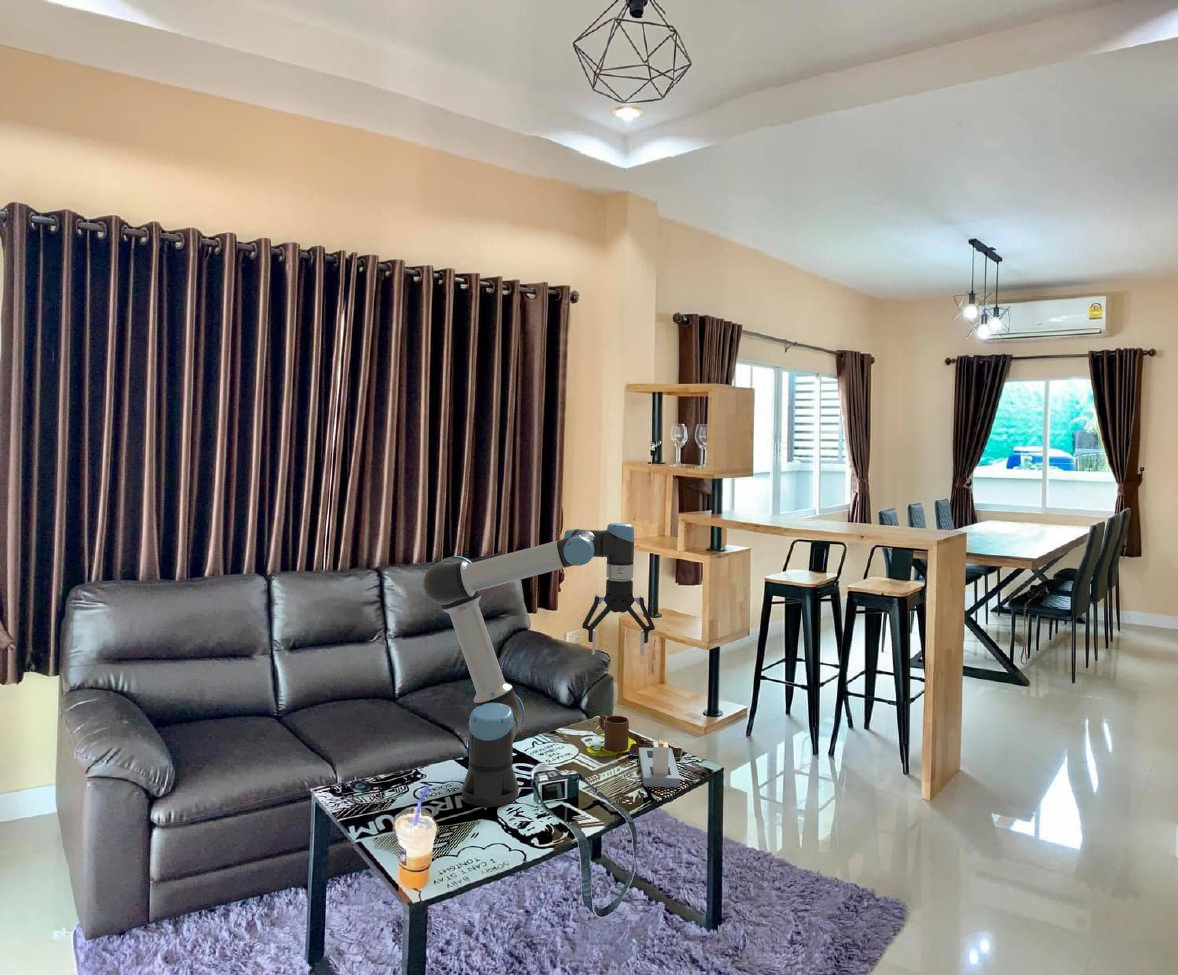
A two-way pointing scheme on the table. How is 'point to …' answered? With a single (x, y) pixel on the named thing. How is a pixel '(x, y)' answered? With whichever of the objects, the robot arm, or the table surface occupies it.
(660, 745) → the plug
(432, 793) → the table surface
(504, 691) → the robot arm
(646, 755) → the panel
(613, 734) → the mug
